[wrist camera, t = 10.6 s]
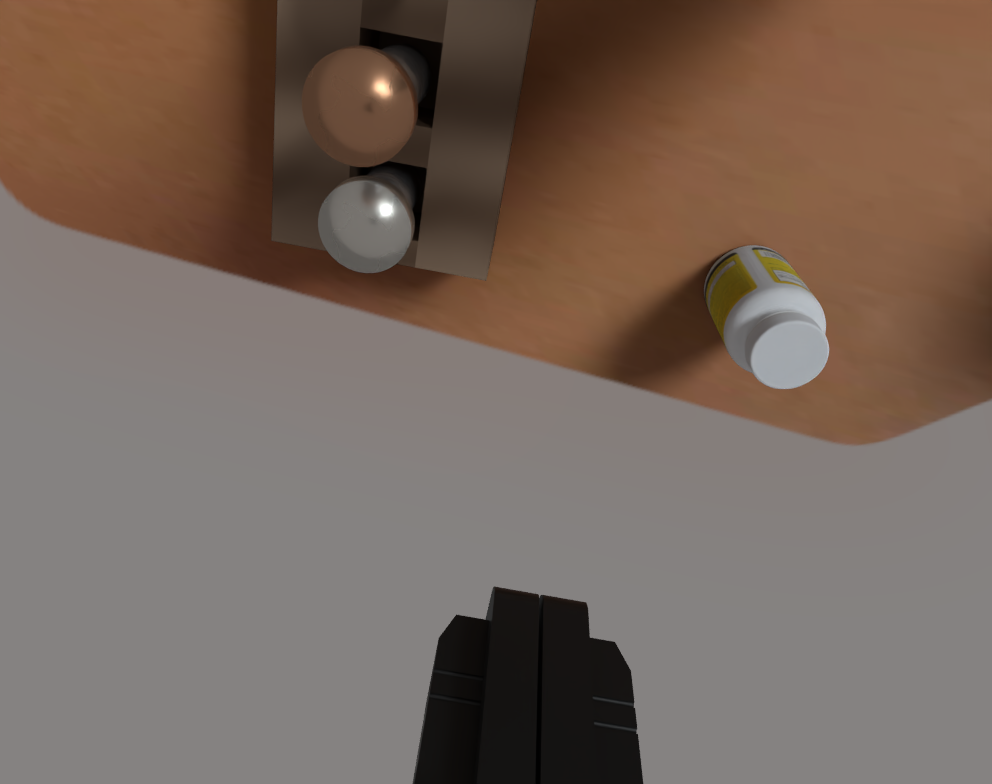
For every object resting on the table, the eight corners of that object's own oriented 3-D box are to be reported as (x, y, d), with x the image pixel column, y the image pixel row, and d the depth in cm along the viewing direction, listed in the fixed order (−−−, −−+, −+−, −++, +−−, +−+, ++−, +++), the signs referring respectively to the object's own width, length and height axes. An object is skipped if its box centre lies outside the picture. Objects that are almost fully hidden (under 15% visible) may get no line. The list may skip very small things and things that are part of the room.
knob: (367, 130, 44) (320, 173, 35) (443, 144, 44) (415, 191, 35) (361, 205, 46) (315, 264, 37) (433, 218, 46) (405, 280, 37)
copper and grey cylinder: (362, 19, 38) (304, 38, 29) (450, 36, 38) (419, 60, 29) (355, 112, 40) (299, 156, 31) (439, 128, 40) (406, 176, 31)
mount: (319, -163, 38) (281, -182, 33) (557, -115, 38) (557, -127, 33) (302, 209, 47) (271, 240, 42) (493, 245, 48) (486, 280, 42)
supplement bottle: (707, 331, 50) (739, 409, 41) (697, 253, 47) (729, 318, 39) (794, 315, 49) (845, 391, 40) (788, 234, 46) (842, 296, 38)
